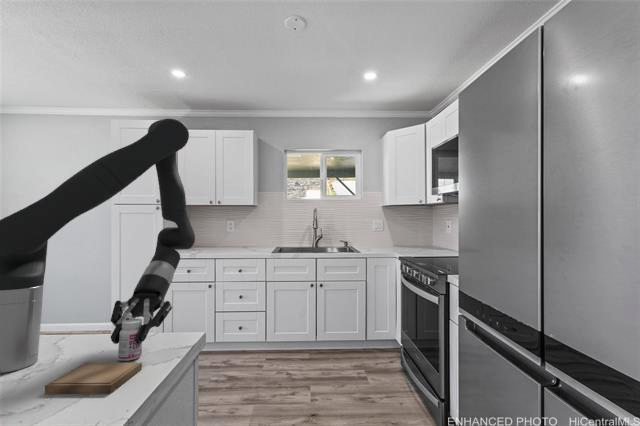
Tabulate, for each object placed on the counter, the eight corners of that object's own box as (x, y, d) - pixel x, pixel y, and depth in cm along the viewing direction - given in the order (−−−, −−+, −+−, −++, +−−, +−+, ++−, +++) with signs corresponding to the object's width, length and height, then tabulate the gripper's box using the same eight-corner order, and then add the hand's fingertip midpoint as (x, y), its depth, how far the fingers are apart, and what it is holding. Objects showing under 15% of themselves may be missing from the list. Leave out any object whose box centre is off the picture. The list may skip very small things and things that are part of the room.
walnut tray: (44, 393, 56) (45, 384, 56) (85, 369, 66) (85, 362, 66) (110, 393, 56) (111, 384, 56) (141, 369, 66) (141, 361, 66)
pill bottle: (130, 362, 69) (132, 324, 70) (112, 360, 70) (114, 322, 71) (146, 354, 74) (148, 318, 74) (129, 352, 75) (131, 317, 75)
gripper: (123, 272, 81) (86, 334, 68) (178, 273, 81) (151, 334, 68) (134, 289, 85) (101, 349, 73) (185, 289, 86) (162, 349, 73)
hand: (126, 341), depth 70 cm, fingers closed on pill bottle, 4 cm apart
